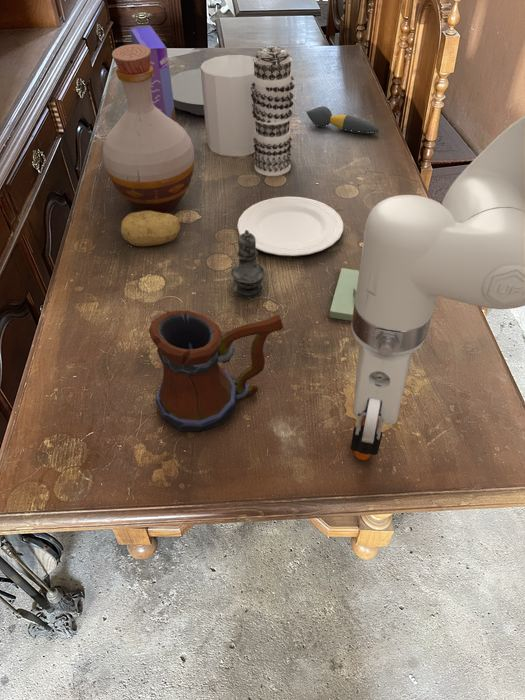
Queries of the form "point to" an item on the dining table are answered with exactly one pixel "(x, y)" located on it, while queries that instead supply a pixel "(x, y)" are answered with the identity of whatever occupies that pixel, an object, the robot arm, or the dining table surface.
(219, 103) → the container
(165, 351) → the mug
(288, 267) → the dining table surface
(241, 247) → the chess piece
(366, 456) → the marker
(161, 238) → the potato
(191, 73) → the flat disc
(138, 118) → the jug
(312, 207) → the plate
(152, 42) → the cereal box
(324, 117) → the paintbrush
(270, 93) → the decorative candle
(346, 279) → the push button block
